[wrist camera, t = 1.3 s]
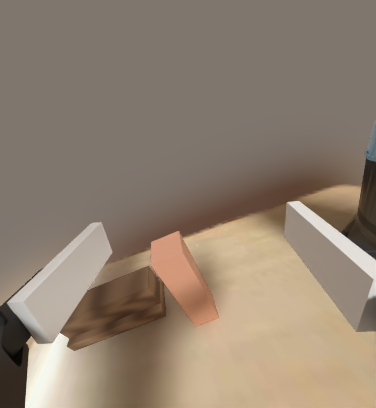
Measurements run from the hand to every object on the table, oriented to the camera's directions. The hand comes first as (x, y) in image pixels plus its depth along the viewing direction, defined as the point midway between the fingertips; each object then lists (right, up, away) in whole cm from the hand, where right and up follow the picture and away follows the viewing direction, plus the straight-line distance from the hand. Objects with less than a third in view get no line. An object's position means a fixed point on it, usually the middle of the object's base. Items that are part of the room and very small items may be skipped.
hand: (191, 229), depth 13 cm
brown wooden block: (-13, -20, +23) cm, 33 cm away
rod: (+2, -16, +18) cm, 24 cm away
